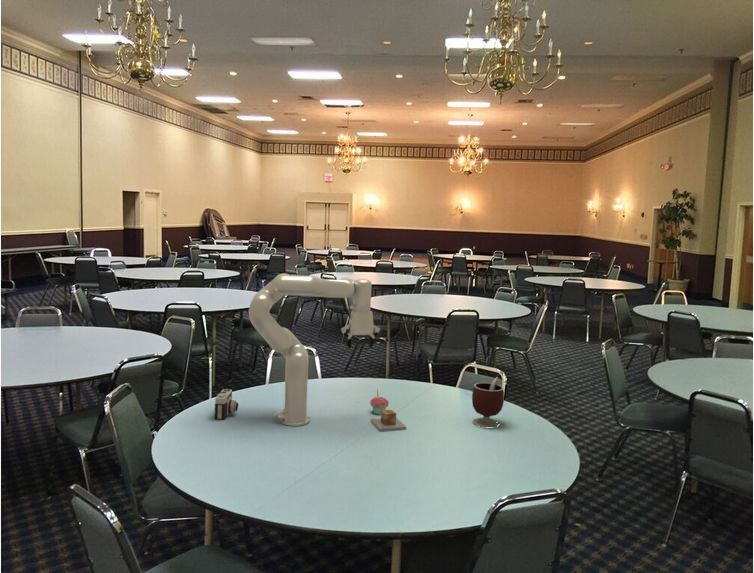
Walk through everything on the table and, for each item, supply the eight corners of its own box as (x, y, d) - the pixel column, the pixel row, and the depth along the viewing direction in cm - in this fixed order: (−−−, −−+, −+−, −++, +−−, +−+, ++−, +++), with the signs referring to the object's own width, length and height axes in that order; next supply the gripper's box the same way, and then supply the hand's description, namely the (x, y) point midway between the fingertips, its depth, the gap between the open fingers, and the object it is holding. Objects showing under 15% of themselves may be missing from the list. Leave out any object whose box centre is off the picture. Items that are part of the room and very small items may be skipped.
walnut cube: (384, 425, 251) (385, 414, 250) (380, 421, 255) (381, 410, 255) (395, 424, 252) (396, 413, 252) (391, 420, 257) (391, 409, 257)
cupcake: (380, 416, 265) (381, 391, 264) (365, 412, 270) (367, 387, 269) (391, 412, 272) (392, 387, 271) (377, 408, 277) (378, 383, 276)
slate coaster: (379, 431, 246) (380, 428, 246) (370, 422, 258) (370, 419, 258) (406, 429, 251) (406, 426, 250) (395, 420, 262) (396, 417, 262)
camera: (233, 420, 251) (233, 398, 250) (213, 419, 251) (214, 397, 250) (240, 410, 265) (240, 388, 264) (222, 409, 265) (222, 387, 264)
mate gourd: (493, 431, 253) (496, 386, 251) (464, 423, 261) (467, 380, 259) (508, 422, 265) (511, 379, 263) (480, 415, 274) (483, 373, 271)
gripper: (344, 309, 245) (343, 349, 247) (383, 309, 251) (381, 348, 253) (339, 306, 252) (338, 346, 254) (377, 306, 258) (375, 345, 260)
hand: (359, 347), depth 253 cm, fingers open, 9 cm apart
